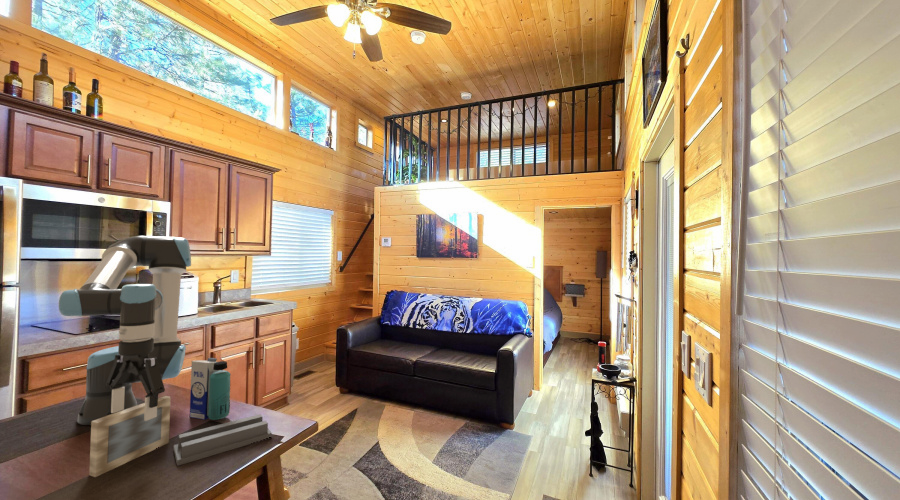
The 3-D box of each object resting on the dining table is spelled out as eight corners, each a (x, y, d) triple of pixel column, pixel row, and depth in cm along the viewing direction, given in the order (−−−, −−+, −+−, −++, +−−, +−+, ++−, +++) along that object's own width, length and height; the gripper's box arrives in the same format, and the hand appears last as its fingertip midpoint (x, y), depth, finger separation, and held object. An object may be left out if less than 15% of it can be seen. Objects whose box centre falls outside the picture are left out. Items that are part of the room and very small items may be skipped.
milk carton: (189, 417, 126) (191, 360, 126) (206, 409, 132) (208, 355, 133) (205, 420, 124) (207, 362, 124) (222, 411, 131) (224, 357, 131)
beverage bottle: (218, 425, 121) (221, 365, 121) (202, 423, 122) (204, 364, 122) (234, 416, 127) (236, 360, 127) (218, 414, 129) (220, 358, 129)
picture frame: (163, 441, 110) (165, 395, 110) (169, 443, 109) (171, 396, 110) (89, 475, 93) (91, 421, 93) (95, 477, 92) (97, 423, 92)
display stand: (262, 425, 122) (263, 412, 122) (271, 437, 114) (272, 423, 114) (173, 450, 105) (174, 434, 106) (177, 465, 98) (177, 449, 98)
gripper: (91, 337, 102) (88, 413, 101) (153, 346, 94) (149, 428, 94) (122, 332, 109) (119, 403, 108) (182, 340, 101) (179, 416, 101)
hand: (133, 414), depth 101 cm, fingers open, 13 cm apart
